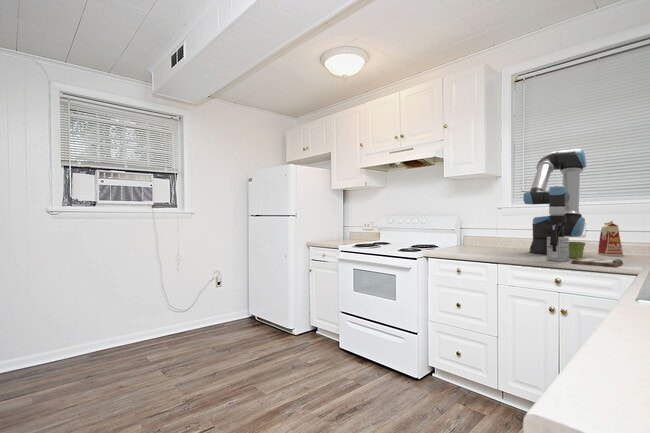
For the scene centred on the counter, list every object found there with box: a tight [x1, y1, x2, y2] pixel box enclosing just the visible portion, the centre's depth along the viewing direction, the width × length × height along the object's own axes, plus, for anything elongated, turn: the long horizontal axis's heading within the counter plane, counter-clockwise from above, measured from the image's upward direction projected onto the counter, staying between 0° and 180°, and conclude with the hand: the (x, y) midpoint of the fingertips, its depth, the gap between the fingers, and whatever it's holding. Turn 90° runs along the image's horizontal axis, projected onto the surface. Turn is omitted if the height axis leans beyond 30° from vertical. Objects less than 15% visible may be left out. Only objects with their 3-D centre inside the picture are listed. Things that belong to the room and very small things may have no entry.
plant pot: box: [569, 241, 587, 259], centre depth 202 cm, size 9×9×9 cm
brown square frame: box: [570, 257, 624, 268], centre depth 180 cm, size 18×15×2 cm
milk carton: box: [597, 220, 624, 257], centre depth 211 cm, size 9×9×20 cm
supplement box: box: [546, 237, 570, 262], centre depth 193 cm, size 7×7×13 cm
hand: (557, 256), depth 193 cm, fingers closed on supplement box, 9 cm apart
